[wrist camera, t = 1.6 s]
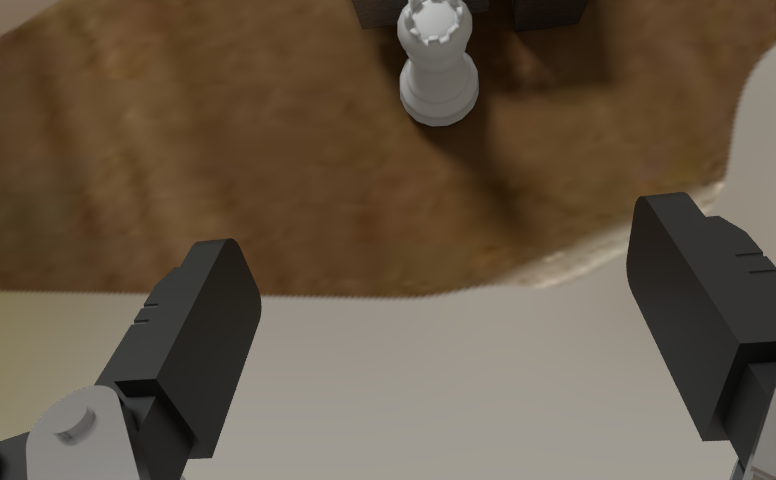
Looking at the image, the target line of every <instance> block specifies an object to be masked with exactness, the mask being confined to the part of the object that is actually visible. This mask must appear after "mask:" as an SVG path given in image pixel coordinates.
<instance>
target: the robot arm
mask: <svg viewBox="0 0 776 480" xmlns="http://www.w3.org/2000/svg"><path fill="white" fill-rule="evenodd" d="M626 265H627V266H626V268H627V277H628V282H629V286H630V289H631V291H632V294H633V296H634V298H635V300H636V302H637V304H638V306H639V308H640V310H641V313H642V315H643V317H644V319H645V321H646V323H647V325H648V327H649V329H650V331H651V334H652V336H653V338H654V340H655V342H656V344H657V346H658V348H659V350H660V352H661V355H662V357H663V359H664V361H665V363H666V365H667V367H668V369H669V371H670V374H671V376H672V377H673V380H674V382H675V384H676V386H677V388H678V390H679V392H680V395H681V397H682V399H683V401H684V403H685V405H686V407H687V409H688V411H689V413H690V415H691V418H692V420H693V422H694V424H695V426H696V428H697V430H698V432H699V434H700V437H701V438H702V441H721V440H730V442H731V444H732V446H733V448H734V449H735V451H736V453H737V455H738V459H737V461H736V463H735V465H734V467H733V470H732V473H731V476H730V480H776V267H775V266H774V264H773V263H772V262H771V261H770V260H769V259H768V257H767V256H763V252H762V250H761V249H760V248H759V247H758V246H757V244H756V243H755V242H754V241H753V240H752V239H751V237H749V235H748V234H747V233H746V232H745V231H743V230H742V229H740V228H738V227H737V226H735V225H733V224H732V223H730V222H728V221H727V220H725V219H723V218H721V217H720V216H711V217H705V216H704V214H703V213H702V212H701V210H700V209H699V208H698V207H697V205H696V204H695V203H694V201H693V200H692V199H691V197H690V196H689V195H688V194H687V193H685V192H678V193H669V194H659V195H650V196H640V197H639V198H638V199H637V201H636V204H635V208H634V215H633V221H632V228H631V234H630V241H629V247H628V254H627V262H626ZM260 317H261V297H260V293H259V290H258V288H257V286H256V283H255V281H254V279H253V276H252V274H251V272H250V270H249V267H248V265H247V263H246V260H245V258H244V256H243V254H242V251H241V249H240V247H239V245H238V243H237V242H236V241H235V240H234V239H231V238H229V239H220V240H210V241H201V242H196V243H195V244H193V246H192V247H191V249H190V251H189V252H188V254H187V256H186V258H185V259H184V261H183V263H182V264H181V266H180V267H177V268H174V269H173V270H172V271H171V272H170V273H168V274H167V275H166V276H165V277H164V278H163V279H162V280H161V281H160V282H159V283H158V284H156V285H155V287H154V289H153V290H152V292H151V293H150V295H149V297H148V298H147V300H146V302H145V303H144V308H142V309H141V310H140V311H139V313H138V315H137V316H136V318H135V320H134V325H131V326H130V328H129V329H128V331H127V333H126V334H125V336H124V337H123V339H122V341H121V342H120V344H119V346H118V347H117V349H116V350H115V352H114V354H113V355H112V357H111V359H110V360H109V362H108V363H107V365H106V367H105V368H104V370H103V372H102V373H101V375H100V376H99V378H98V380H97V381H96V383H95V385H94V386H89V387H85V388H82V389H79V390H77V391H74V392H73V393H70V394H68V395H67V396H65V397H64V398H62V399H60V400H59V401H57V402H56V403H55V404H53V405H52V406H51V407H50V408H49V409H48V410H47V411H46V412H45V413H44V414H43V415H42V416H41V417H40V418H39V419H38V421H37V422H36V423H35V425H34V426H33V428H32V429H31V431H30V432H27V433H24V434H21V435H18V436H15V437H12V438H9V439H6V440H3V441H0V480H185V478H184V477H183V475H182V473H183V470H184V468H185V465H186V463H187V460H188V459H201V458H212V456H213V453H214V450H215V448H216V445H217V442H218V439H219V436H220V433H221V430H222V427H223V424H224V422H225V418H226V416H227V413H228V410H229V407H230V404H231V401H232V399H233V395H234V393H235V390H236V387H237V384H238V381H239V378H240V376H241V373H242V370H243V367H244V364H245V361H246V358H247V355H248V352H249V350H250V347H251V344H252V341H253V338H254V335H255V332H256V329H257V326H258V323H259V321H260Z"/></svg>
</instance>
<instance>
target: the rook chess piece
mask: <svg viewBox="0 0 776 480" xmlns="http://www.w3.org/2000/svg"><path fill="white" fill-rule="evenodd" d="M408 1H409V3H408V4H407V5H406V6H405V7H404V8H403V10H402V12H401V15H400V17H399V20H398V38H399V40H400V42H401V45H402V47H403V49H405V50H406V53H407V55H408V57H409V58H408V59H407V60H406V63H405V65H404V68H403V70H402V72H401V75H400V98H401V101H402V103H403V105H404V107H405V110H406V112H408V113H409V114H410V115H411V116H412V117H413V118H414V119H415V120H416V121H418V122H421V123H423V124H426V125H429V126H448V125H450V124H452V123H455V122H457V121H459V120H461V119H463V118H464V117H465V116H466V115H467V114H468V113H469V112H470V111H471V110H472V108H473V107H474V104H475V102H476V99H477V97H478V94H479V81H478V71H477V69H476V67H475V65H474V63H473V61H472V59H471V57H470V56H469V55H468V54H467V53H466V52H464V51H465V49H466V44H467V42H468V40H469V37H470V35H471V33H472V16H471V14H470V11H469V9H468V7H467V5H466V4H465V3H464V2H463V1H462V0H408Z"/></svg>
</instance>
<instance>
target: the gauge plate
mask: <svg viewBox="0 0 776 480" xmlns="http://www.w3.org/2000/svg"><path fill="white" fill-rule="evenodd" d="M352 1H353V4H354V7H355V9H356V12H357V15H358V18H359V21H360V24H361V27H362V29H368V28H375V27H382V26H389V25H396V24H398V20H399V17H400V15H401V12H402V10H403V8H404V7H405V6H406V5H407V4H408V3H409V1H408V0H352ZM462 1H463V2H464V3H465V4H466V5H467V7H468V9H469V11H470V14H473V13H480V12H487V11H488V8H489V0H462Z"/></svg>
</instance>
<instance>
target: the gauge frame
mask: <svg viewBox="0 0 776 480" xmlns="http://www.w3.org/2000/svg"><path fill="white" fill-rule="evenodd" d="M588 1H589V0H511V5H512V14H513V22H514V31H515V32H517V31H525V30H532V29H539V28H546V27H554V26H561V25H568V24H576V23H579V21H580V18H581V16H582V14H583V12H584V10H585V7H586V5H587V3H588Z"/></svg>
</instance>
